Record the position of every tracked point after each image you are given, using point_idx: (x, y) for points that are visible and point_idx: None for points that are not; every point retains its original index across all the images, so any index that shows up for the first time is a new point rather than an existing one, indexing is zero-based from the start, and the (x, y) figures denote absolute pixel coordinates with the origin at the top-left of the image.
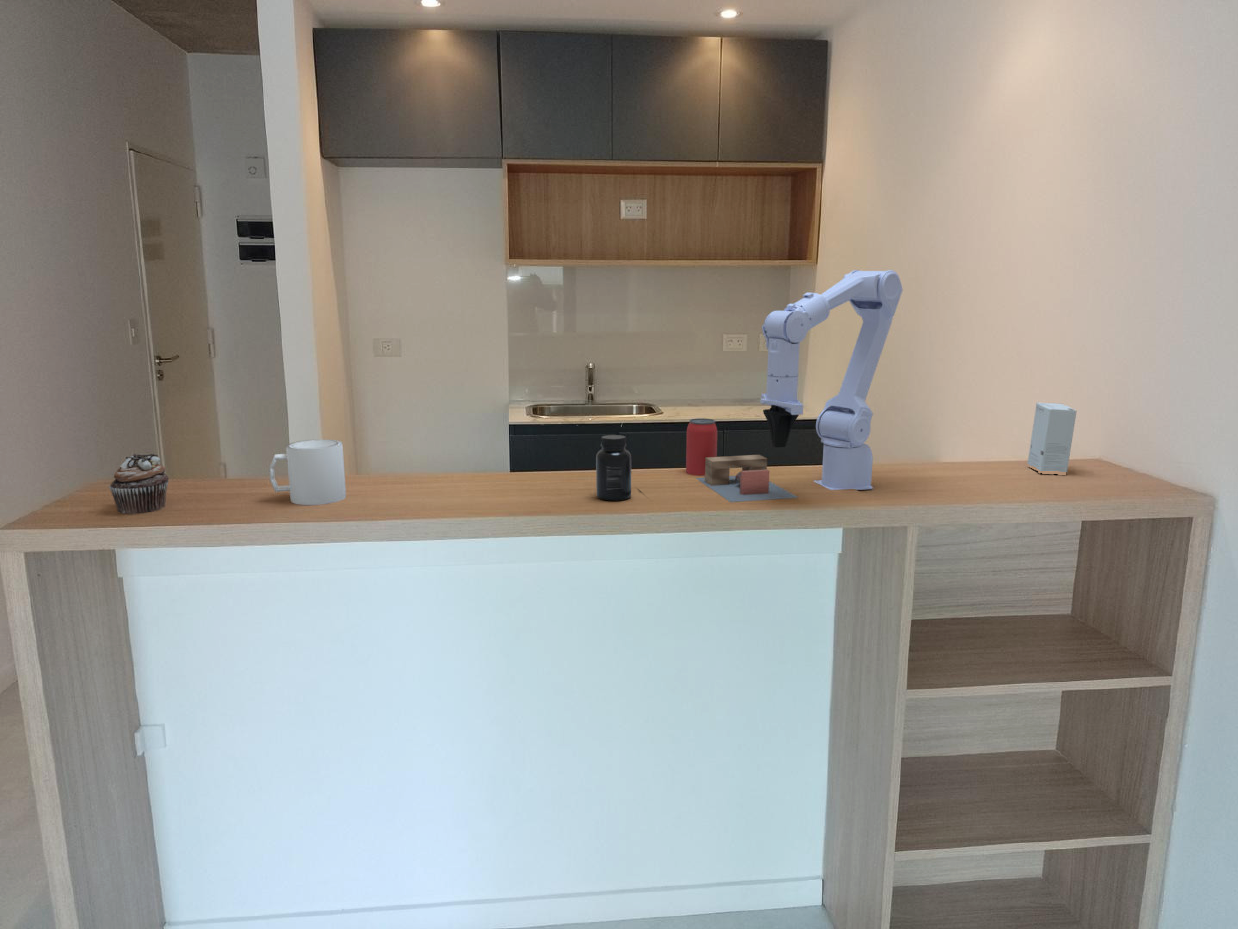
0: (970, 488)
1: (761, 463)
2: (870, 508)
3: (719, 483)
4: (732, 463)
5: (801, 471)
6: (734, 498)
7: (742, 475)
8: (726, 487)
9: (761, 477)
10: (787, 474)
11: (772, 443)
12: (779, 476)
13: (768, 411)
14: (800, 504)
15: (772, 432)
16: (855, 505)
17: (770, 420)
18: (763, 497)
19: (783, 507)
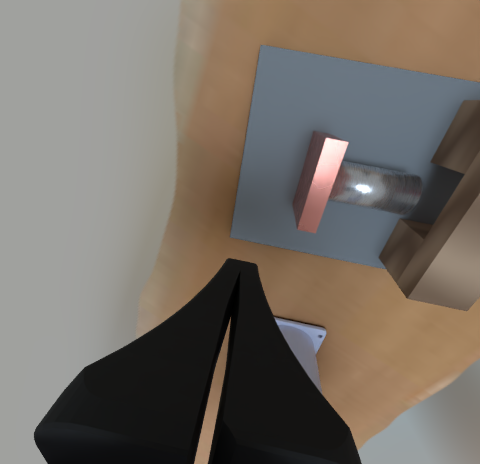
0: (203, 427)
1: (409, 275)
2: (147, 298)
3: (450, 130)
4: (470, 189)
5: (414, 363)
6: (289, 83)
7: (324, 136)
8: (407, 134)
9: (302, 199)
10: (416, 335)
11: (255, 268)
12: (416, 316)
13: (163, 434)
14: (204, 220)
15: (238, 299)
16: (169, 292)
17: (233, 358)
18: (261, 168)
19: (194, 174)
